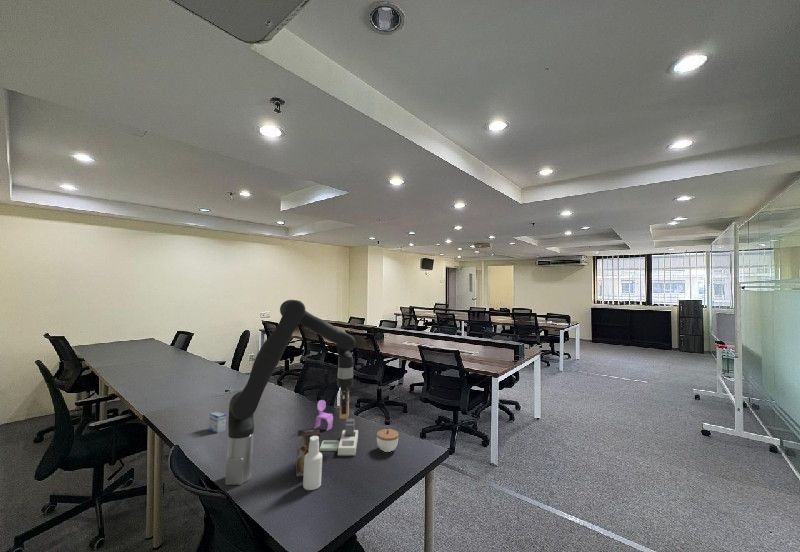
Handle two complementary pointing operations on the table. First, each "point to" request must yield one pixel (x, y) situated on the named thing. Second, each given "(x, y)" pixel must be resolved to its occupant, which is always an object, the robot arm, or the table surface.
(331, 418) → the toy chair
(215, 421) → the medicine box
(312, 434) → the coffee box
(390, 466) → the table surface
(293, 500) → the table surface
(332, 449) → the tray
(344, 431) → the white slotted holder
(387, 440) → the lidded jar
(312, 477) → the white bottle
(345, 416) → the plug
